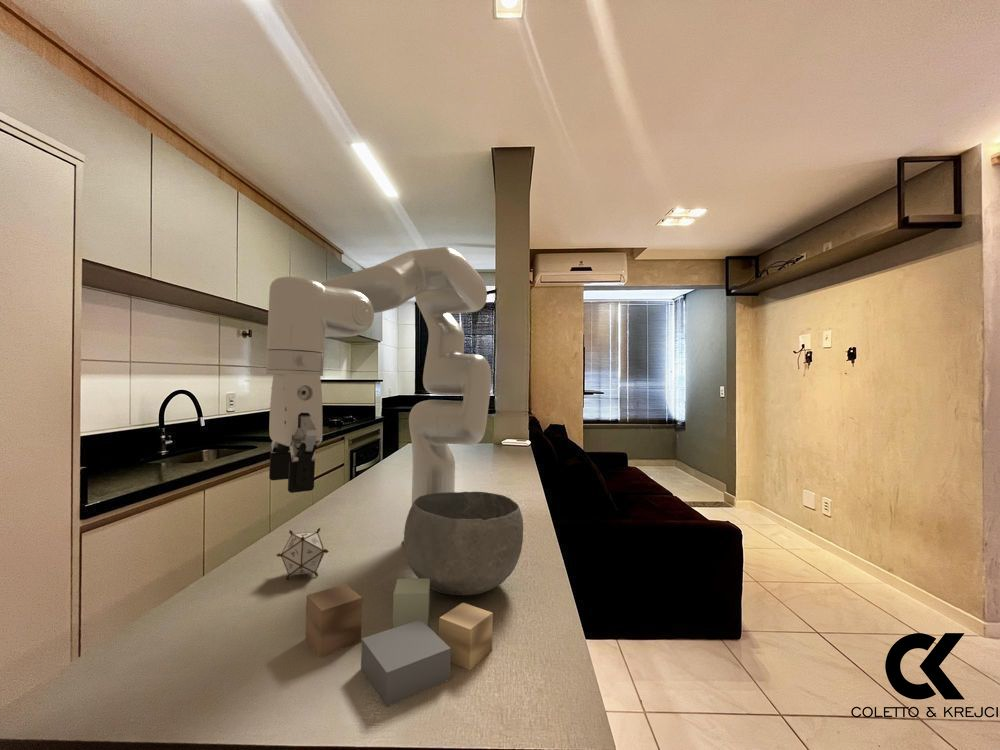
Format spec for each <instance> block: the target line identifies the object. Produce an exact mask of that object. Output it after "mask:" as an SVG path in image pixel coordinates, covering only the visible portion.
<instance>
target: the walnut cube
mask: <svg viewBox="0 0 1000 750" xmlns="http://www.w3.org/2000/svg"><path fill="white" fill-rule="evenodd" d="M305 600H306V602H305V603H306V606H305V608H306V609H305V610H306V611H305V637H304V638H305V640H306V642H307V643H308V644H309V645H310V647H311V648H312V650H313V651H314V652H315V653H316V654H317V655H318V656H319V657H320V658H323V657H326V656H328V655H331V654H333V653H336V652H339V651H340V650H341V651H342V650H344V649H346V648H349V647H351V646H354V645H357V644H359V643H362V628H363V627H362V624H363V623H362V619H363V617H362V616H363V597H362V596H361V595H360V594H358V593H357V592H356V591H355V590H354V589H353V588H351V587H350V586H348V585H347V583H344V584H341V585H337V586H334V587H331V588H326V589H324V590H321V591H317V592H313V593H310V594H307V595H306V599H305Z"/></svg>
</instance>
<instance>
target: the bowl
mask: <svg viewBox="0 0 1000 750" xmlns="http://www.w3.org/2000/svg"><path fill="white" fill-rule="evenodd" d="M523 542H524V520H523V516H522V510H521V508H520V506H519V504H518V503H517V502H516V501H514V500H513V499H512V498H510V497H508V496H505V495H503V494H498V493H495V492H494V493H493V492H487V491H461V492H459V491H456V492H444V493H432V494H426V495H424V496H420V497H418V498H417V499H416V500H415V501H414V502H413V504H412V503H411V506H410V509H409V511H408V514H407V517H406V520H405V524H404V531H403V544H404V551H405V556H406V559H407V562H408V565H409V567H410V569H411V571H412V572H413V574H414V575H415V576H416V577H417V578H429V579H430V589H432V590H434V591H436V592H438V593H441V594H447V595H452V596H472V595H473V596H474V595H478V594H482V593H485V592H488V591H491V590H493V589H495V588H496V587H498V586H500V585H502V584H503V583H504V582H505V581H506V579H508V577H510V575H511V574H512V573H513V571H514V570H515V568H516V566H517V564H518V563H519V559H520V556H521V554H522V549H523V548H522V547H523Z"/></svg>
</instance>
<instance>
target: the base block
mask: <svg viewBox="0 0 1000 750" xmlns="http://www.w3.org/2000/svg"><path fill="white" fill-rule="evenodd" d="M360 649H361V656H360V659H361V660H360V670H361V671H362V673H363V674H364V675H365V677H366V679H367V680H368V682H369V683H370V685H371V687H372V688H373V689H374V691H375V692H376V694H377V696H378V698H380V701H381V702H382V703H383V704H384V707H385V708H388V707H390V706H393V705H394V704H397V703H400V702H402V701H404V700H406V699H409V698H411V697H414V696H416V695H418V694H421V693H423V692H425V691H427V690H431V689H432V688H435V687H437V686H439V685H441V684H444V683H446V682H449V681H451V661H450V660H451V648H450V647H449V646H448V645H447V644H446V643H445V642H444V641H443V640H442V639H441V638H440V637H439V635H437V634H436V632H434V630H432V629H431V628H430V626H427V625H426V624H425V623H424V622H423V621H422V620H417V621H414V622H411V623H408V624H405V625H402V626H399V627H396V628H393V627H392V628H391V629H387V630H385V631H384V630H383V631H381V632H378V633H375V634H372V635H368V636H365V637H363V638H362V637H361V648H360Z"/></svg>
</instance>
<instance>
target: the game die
mask: <svg viewBox="0 0 1000 750" xmlns="http://www.w3.org/2000/svg"><path fill="white" fill-rule="evenodd" d="M320 531H321V527H319V528H317V530H316V531H310V532H297V533H296V532H295V533H293V531H292V530H291V529H289V531H288V532H289V534H290V536H289V537H288V539H287V542H286V544H285V546H284V548H283V550H282V551H281V553H280V552H279V553H277V554H276V555H275V556H276V557H277V558H279V557H280V558H281V559H282V562H283V565H284V567H285V570H286V572H287V575H286V577H285V580H286V581H287V580H289V579H290V577H292V576H299V575H309V574H310V575H311V574H314V575H315V577H319V573H318V572H317V571H318V569H319V566H320V565H321V562H322V559H323V557H324V555H325V554H328V553H329V550H328V548H327V549H326V548H324V544H323V543H322V539H321V536H320V533H319V532H320Z"/></svg>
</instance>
